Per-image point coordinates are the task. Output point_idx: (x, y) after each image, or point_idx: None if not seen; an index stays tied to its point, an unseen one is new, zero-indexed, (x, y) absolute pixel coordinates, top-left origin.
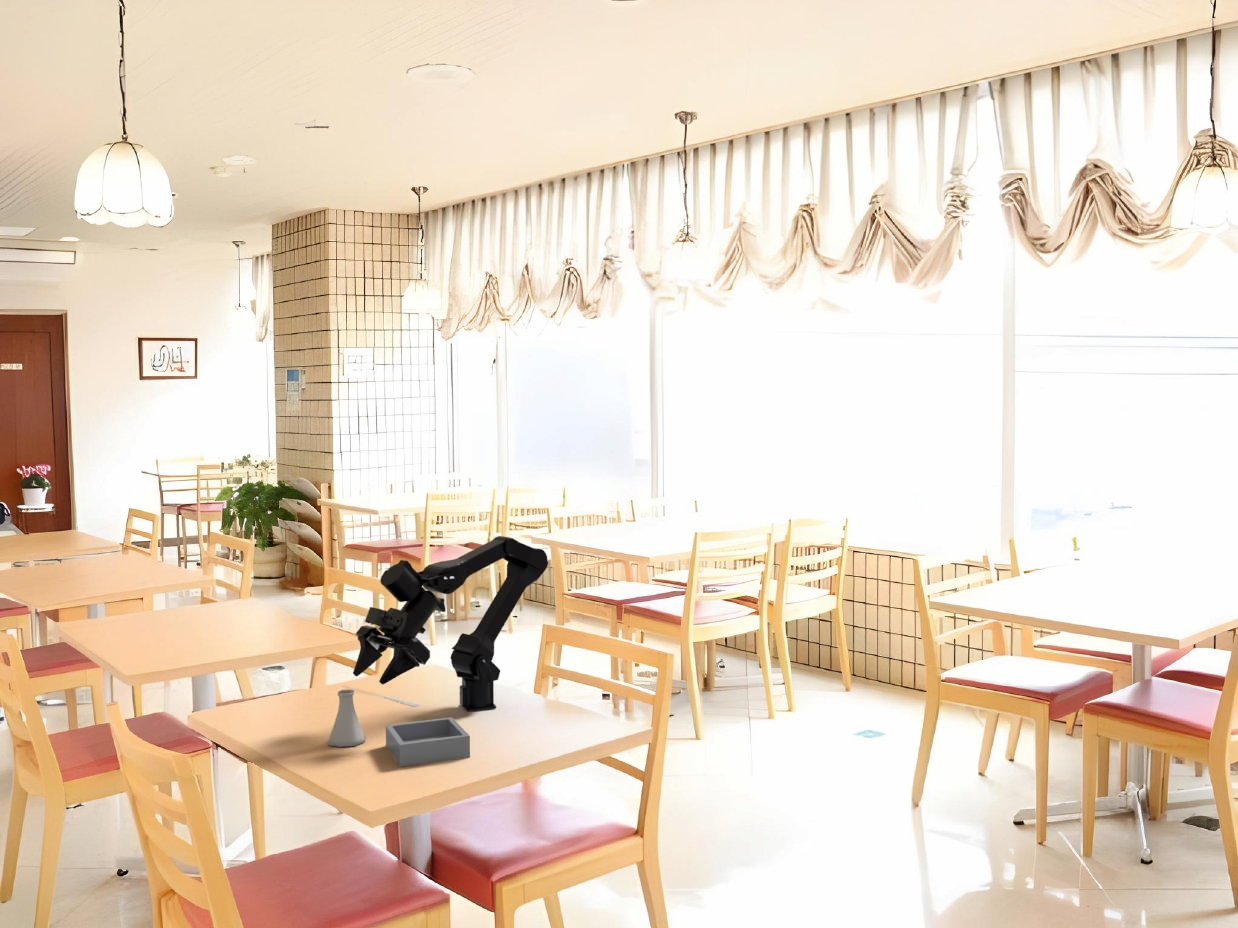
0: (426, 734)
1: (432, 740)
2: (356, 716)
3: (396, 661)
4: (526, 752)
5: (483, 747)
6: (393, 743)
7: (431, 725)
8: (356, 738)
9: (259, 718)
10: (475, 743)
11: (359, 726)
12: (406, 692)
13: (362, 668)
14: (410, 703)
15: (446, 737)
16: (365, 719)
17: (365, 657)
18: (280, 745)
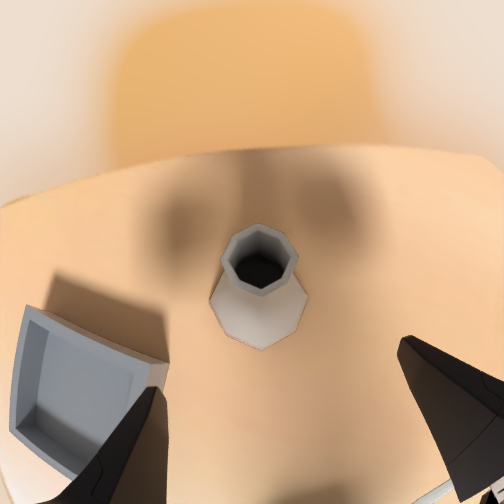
0: None
1: (14, 368)
2: (244, 314)
3: (71, 487)
4: (26, 484)
5: (63, 476)
6: (78, 330)
7: None
8: (214, 306)
9: (479, 215)
10: None
11: (232, 321)
12: None
13: (420, 389)
14: (429, 498)
15: (15, 398)
16: (402, 398)
17: (463, 415)
18: (318, 181)
